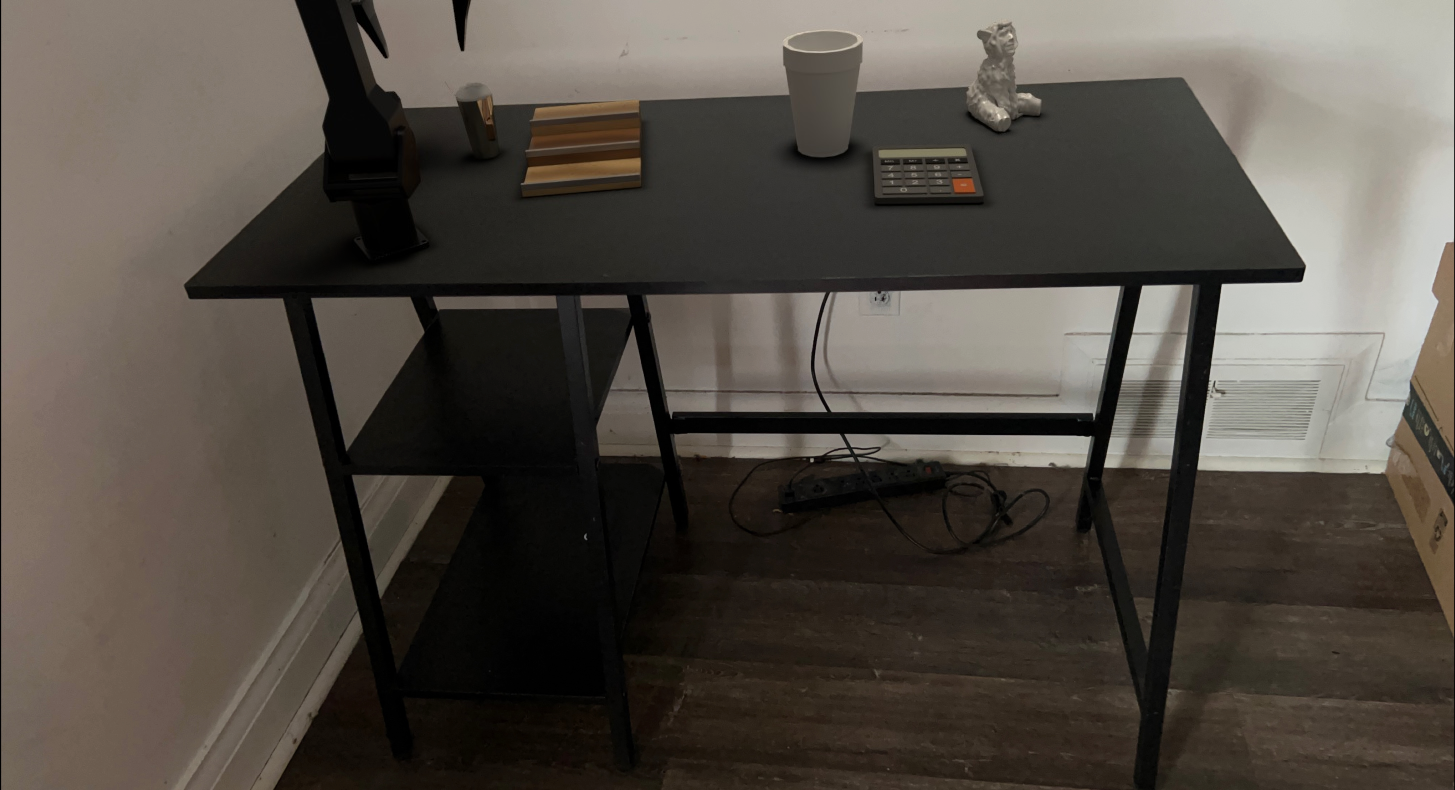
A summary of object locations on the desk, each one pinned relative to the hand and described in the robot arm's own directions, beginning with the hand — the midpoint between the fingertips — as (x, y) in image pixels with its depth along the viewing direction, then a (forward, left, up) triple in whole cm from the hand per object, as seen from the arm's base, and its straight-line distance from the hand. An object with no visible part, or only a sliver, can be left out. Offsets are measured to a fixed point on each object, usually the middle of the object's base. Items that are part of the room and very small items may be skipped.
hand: (425, 54), depth 116 cm
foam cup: (-30, -38, -14) cm, 50 cm away
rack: (-12, -14, -13) cm, 23 cm away
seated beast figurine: (-37, -61, -14) cm, 73 cm away
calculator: (-45, -41, -13) cm, 62 cm away
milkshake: (-2, -4, -14) cm, 14 cm away
